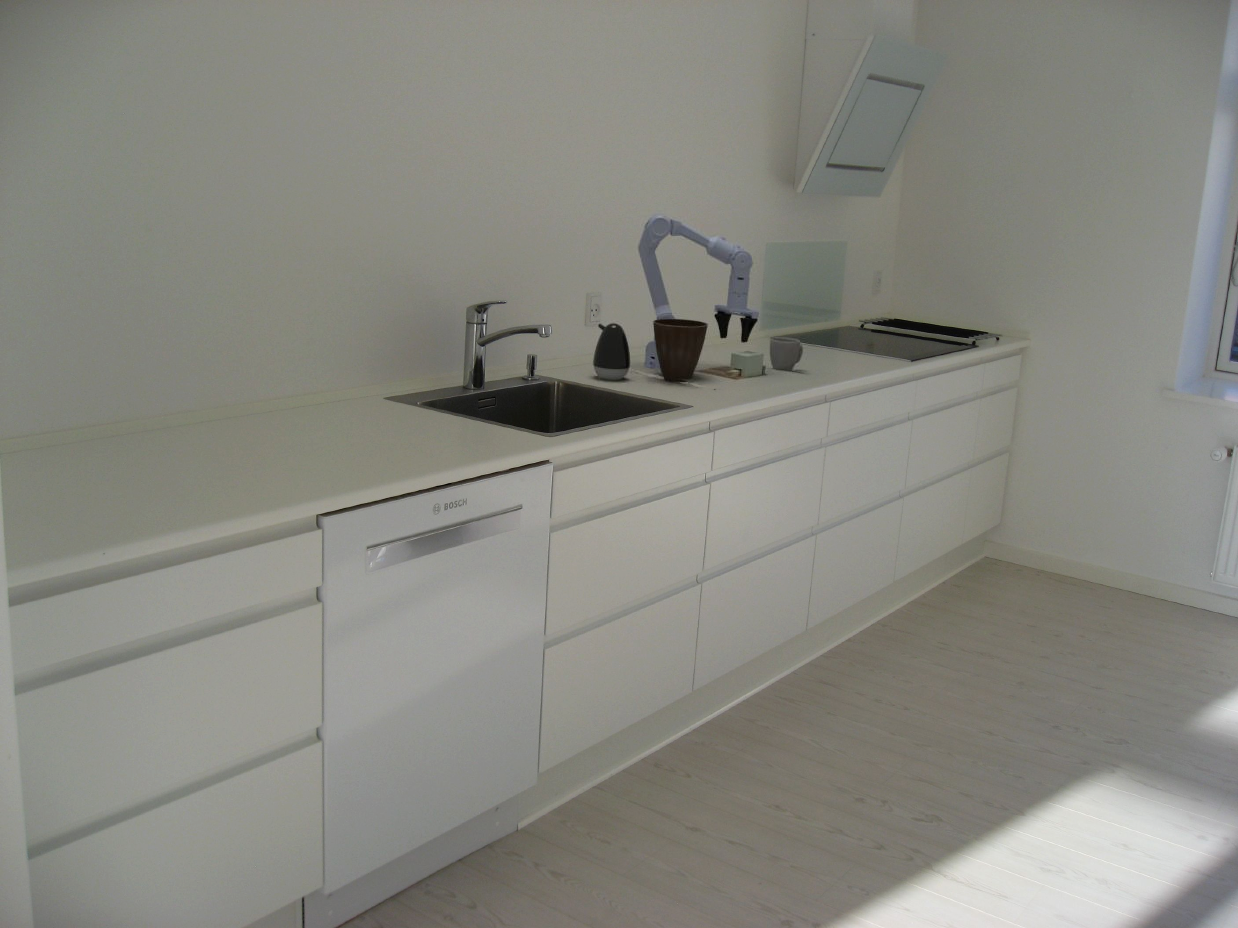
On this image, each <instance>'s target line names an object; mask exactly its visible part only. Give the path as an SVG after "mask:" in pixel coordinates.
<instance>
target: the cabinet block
mask: <svg viewBox="0 0 1238 928" xmlns="http://www.w3.org/2000/svg"><path fill="white" fill-rule="evenodd" d="M730 354H731V355H730V364H729V365H730V366H729V367H730V371H733V370H739V369H742V372H741V377H750V378H752V377H751V376H757V375H762V367H763V365H764V357H765V356H764V355H765V354H764V353H760V352H755V351H751V350H747V351H746V350H745V351H737V352H732V353H730ZM757 377H758V376H757Z"/></svg>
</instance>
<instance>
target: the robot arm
mask: <svg viewBox="0 0 1238 928" xmlns="http://www.w3.org/2000/svg"><path fill="white" fill-rule="evenodd" d="M668 235H670V236H671V237H678V236H679V237H680V236H681V237H683V238H686V239H687V240H689V241H691V242H693V243H695V244H697V245H699V246H702V247H703V248H705V250H706V253H707V255H708V256H710V257H711V258H714V259H716V260H718V261H719V262H721V263H723V264H725V265H730V267H731V268H730V275H729V281H728V288H727V289H728V291H727V303H726V305H723V304H715V305H714V312H715V313H714V314H713V315H714V319H715V320H716V323H717V326H718V327H717V328H718V331H719V336H720V337H719V338H720V339H727V337H728V332H729V331H728V330H729V325H730V321H731V318H732V315H734V316H741V317H740V318H739V320H740V324H741V325H740V327H741V333H740V334H741V335H740V343H748V341H749V339H750V335H751V333H752V331H753V329H754V327H755V325H756V324H757V322H758V320H759V317H760V311H759V310H753V309H751V308H748V302H749V301H748V300H749V299H748V298H749V288H750V279H751V278H750V275H751V268H752V267H753V265H754V261H753V257H752V255H751V254H750V253H749V252H748V251H746V250H745V249H744V248H743V249H742V248H741V246H740V245H738V244H736V245H735V244H733V243H731V242H730V241H727V240H726V239H727V238H726V237H725V236H722V235H721V236H718V235H717V236H713V237H709V236H707V235H706V234H704V233H702V232H701V231H699V230H698V229H695V228H694V227H692V226H690V225H688V224H687V223H685V222H683V221H681V220H679V219H675V218H674V217H673V218H672V217H670V216H669V217H667V216H666V215H664V214H662V213H655V214H653V215H651V217H650V218H649V219H648V220H647V222H646V223H645V224H644V227H643V230H642V234H641V236H640V238H639V242H638V245H637V250H638V254H639V258H640V262H641V266H642V269H643V272H644V276H645V280H646V283H647V287H648V290H649V293H650V297H651V301H652V304H653V309H654V312H655V317H656V320H659V319H676V318H675V316H674V315H673V312H672V310H671V305H670V302H669V298H668V295H667V290H666V287H665V284H664V279H663V276H662V273H661V269H660V266H659V262H658V258H657V255H656V254H657V253H656V250H657V248H658V247H659V245H661V244H660V243H661V242H662V241H663V240H664V239H665V238H666V237H667V236H668ZM644 367H646V368H650V369H652V370H654V369H655V370H658V371H661V368H660V364H659V360H658V356H657V350H656V344H655V337H654V336H653V340H651V341H649V342H648V343H647V345H646V347H645V355H644Z"/></svg>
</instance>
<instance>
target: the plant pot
mask: <svg viewBox="0 0 1238 928" xmlns="http://www.w3.org/2000/svg"><path fill="white" fill-rule="evenodd" d="M652 324H653V334H654V335H653V338H654V337H655V344H656V350H657V356H658V360H659V364H660V368H661V370H660V371H661V376H662V378H663V380H664V381H667V382H672V383H687V382H688V381H686V380H689V379H692V377H693V375H694V372H696V369H697V365H698V363H699V360H700V357H701V355H702V350H703V347H704V344H705V340H706V336H707V335H706V334H707V330H708V325H709V324H708V323H707V322H705V321H704V322H703V321H700V320H694V319H693V320H692V319H686V318H685V319H684V318H675V319H659V320H657V319H655V320H654V319H653V323H652Z"/></svg>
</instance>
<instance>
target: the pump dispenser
mask: <svg viewBox="0 0 1238 928" xmlns="http://www.w3.org/2000/svg"><path fill="white" fill-rule="evenodd" d="M597 327H598V328H599V329H601V332H600V335H599V337H598V340H597V343H596V346H595V350H594V353H593V358H592V359H593V360H592V365H593V369H594V372H595V374H596V375H597V377H599V378H601V379H602V380H606V381H619V380H621V379H623V378H624V377H626V375H627V374H628V373H629V369H630V368H631V352H630V348H629V347H630V346H629V342H628V338H627V335H626V332H625V330H624V329H623V326H621V325H620V324H618V323H615V322H611V323H609V324H607V325H606V326H605V325H604V324H602V323H598V324H597Z"/></svg>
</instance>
